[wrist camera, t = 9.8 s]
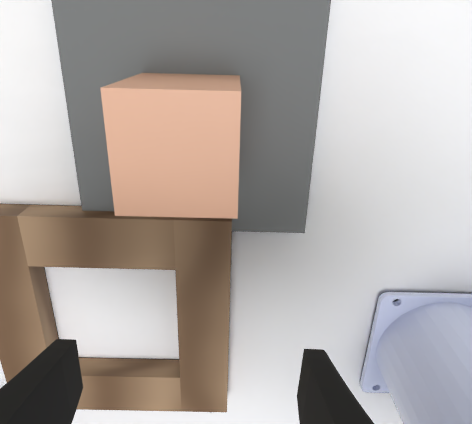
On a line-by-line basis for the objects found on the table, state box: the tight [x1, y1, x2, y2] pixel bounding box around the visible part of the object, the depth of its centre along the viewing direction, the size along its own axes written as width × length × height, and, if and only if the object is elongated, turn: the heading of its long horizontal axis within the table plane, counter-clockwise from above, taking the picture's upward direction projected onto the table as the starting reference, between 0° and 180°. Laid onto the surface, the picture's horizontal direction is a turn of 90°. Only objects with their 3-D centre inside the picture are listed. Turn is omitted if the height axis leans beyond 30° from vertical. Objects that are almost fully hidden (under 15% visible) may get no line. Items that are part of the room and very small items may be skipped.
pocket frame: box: [0, 204, 232, 412], centre depth 23 cm, size 14×14×2 cm
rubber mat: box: [52, 0, 331, 233], centre depth 19 cm, size 12×12×1 cm
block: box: [100, 73, 241, 219], centre depth 16 cm, size 4×4×6 cm
